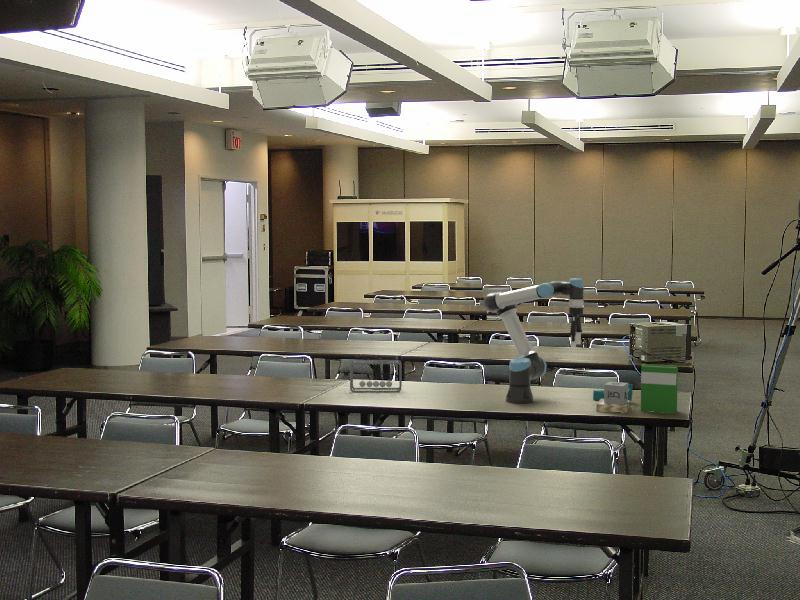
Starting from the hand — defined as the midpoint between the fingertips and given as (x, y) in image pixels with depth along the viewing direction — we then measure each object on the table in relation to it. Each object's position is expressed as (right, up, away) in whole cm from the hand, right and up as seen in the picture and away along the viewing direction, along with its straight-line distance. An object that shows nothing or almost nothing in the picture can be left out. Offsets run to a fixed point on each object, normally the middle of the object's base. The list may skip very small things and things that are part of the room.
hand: (575, 345), depth 508 cm
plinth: (+17, -33, -14) cm, 40 cm away
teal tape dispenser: (+22, -31, +8) cm, 39 cm away
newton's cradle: (-110, -29, +42) cm, 121 cm away
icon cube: (+18, -29, -16) cm, 38 cm away
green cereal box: (+40, -34, -19) cm, 55 cm away
